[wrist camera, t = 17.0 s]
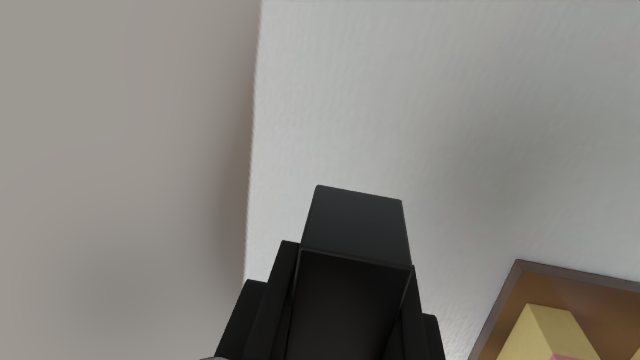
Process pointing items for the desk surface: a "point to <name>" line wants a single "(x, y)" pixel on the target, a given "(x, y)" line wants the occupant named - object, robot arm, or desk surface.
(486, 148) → the desk surface
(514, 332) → the cake slice
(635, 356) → the cake
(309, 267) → the knife
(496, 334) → the cake board
